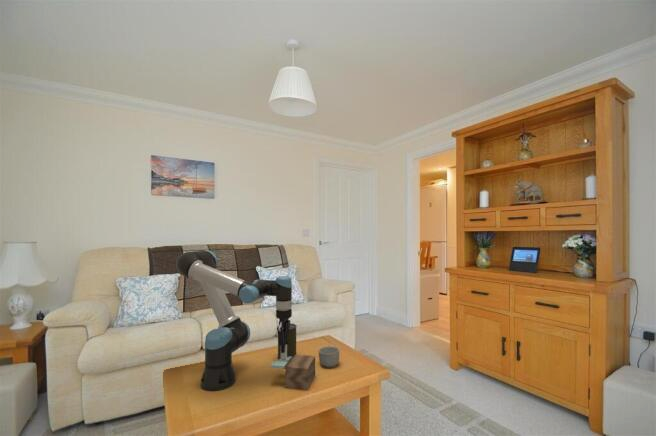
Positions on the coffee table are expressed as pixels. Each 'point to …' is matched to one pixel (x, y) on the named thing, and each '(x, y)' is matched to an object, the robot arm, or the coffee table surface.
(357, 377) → the coffee table surface
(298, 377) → the block
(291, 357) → the stub far
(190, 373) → the coffee table surface
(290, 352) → the canister
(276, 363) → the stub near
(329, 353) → the teacup
